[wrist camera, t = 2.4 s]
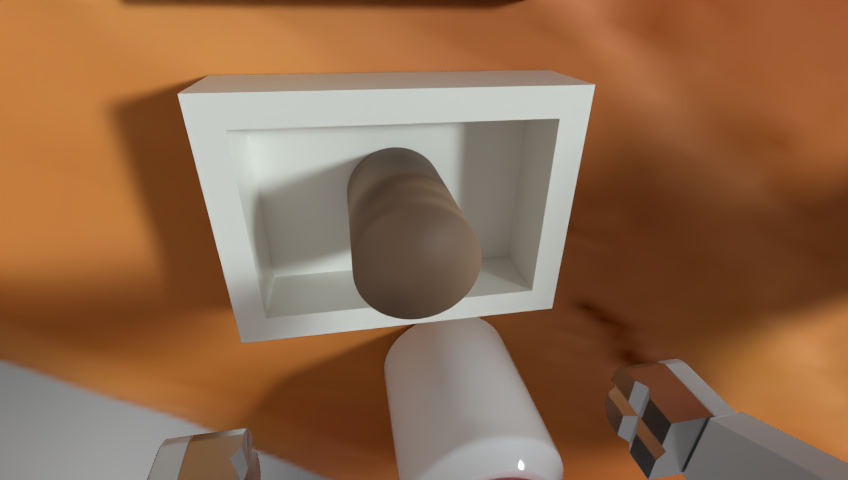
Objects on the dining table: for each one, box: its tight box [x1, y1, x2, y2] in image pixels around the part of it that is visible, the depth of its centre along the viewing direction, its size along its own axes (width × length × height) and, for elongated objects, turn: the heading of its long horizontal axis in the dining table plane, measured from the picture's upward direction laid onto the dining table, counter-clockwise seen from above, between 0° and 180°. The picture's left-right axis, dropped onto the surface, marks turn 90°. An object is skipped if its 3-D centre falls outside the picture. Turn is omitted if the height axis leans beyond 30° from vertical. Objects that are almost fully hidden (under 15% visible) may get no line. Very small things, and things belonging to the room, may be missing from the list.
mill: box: [347, 147, 482, 320], centre depth 17 cm, size 4×4×6 cm
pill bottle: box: [384, 317, 563, 480], centre depth 22 cm, size 8×8×11 cm
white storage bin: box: [178, 70, 595, 343], centre depth 19 cm, size 14×10×4 cm
